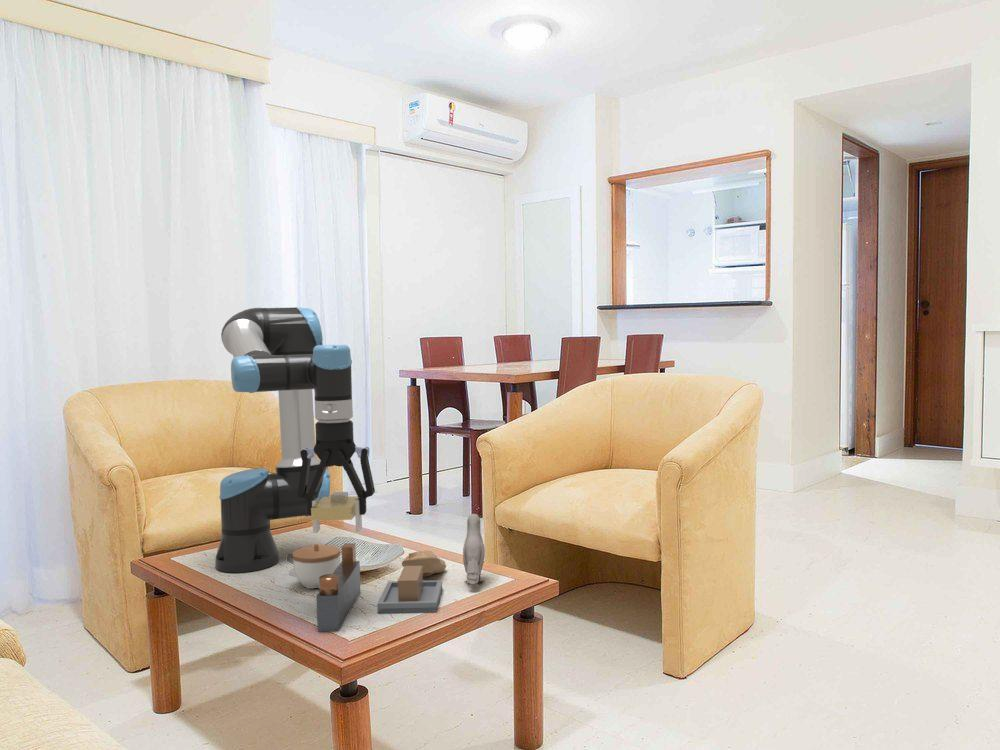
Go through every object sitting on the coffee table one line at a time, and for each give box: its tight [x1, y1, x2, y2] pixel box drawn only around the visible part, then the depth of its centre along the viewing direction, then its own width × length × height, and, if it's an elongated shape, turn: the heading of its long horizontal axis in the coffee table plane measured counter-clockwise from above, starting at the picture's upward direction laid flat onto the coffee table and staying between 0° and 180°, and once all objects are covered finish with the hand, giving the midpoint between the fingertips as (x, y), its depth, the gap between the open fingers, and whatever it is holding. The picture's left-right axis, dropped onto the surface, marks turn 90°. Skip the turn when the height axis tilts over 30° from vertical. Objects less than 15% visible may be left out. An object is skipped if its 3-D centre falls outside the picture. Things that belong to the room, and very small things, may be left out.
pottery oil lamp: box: [401, 549, 447, 577], centre depth 174 cm, size 9×12×7 cm
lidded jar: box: [291, 543, 342, 589], centre depth 171 cm, size 11×11×9 cm
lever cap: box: [310, 491, 358, 521], centre depth 153 cm, size 10×8×4 cm
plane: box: [315, 542, 362, 633], centre depth 154 cm, size 22×4×11 cm, turn 0°
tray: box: [376, 566, 443, 614], centre depth 159 cm, size 14×12×6 cm
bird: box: [462, 513, 486, 586], centre depth 169 cm, size 5×14×15 cm, turn 179°
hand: (337, 530), depth 153 cm, fingers closed on lever cap, 8 cm apart
